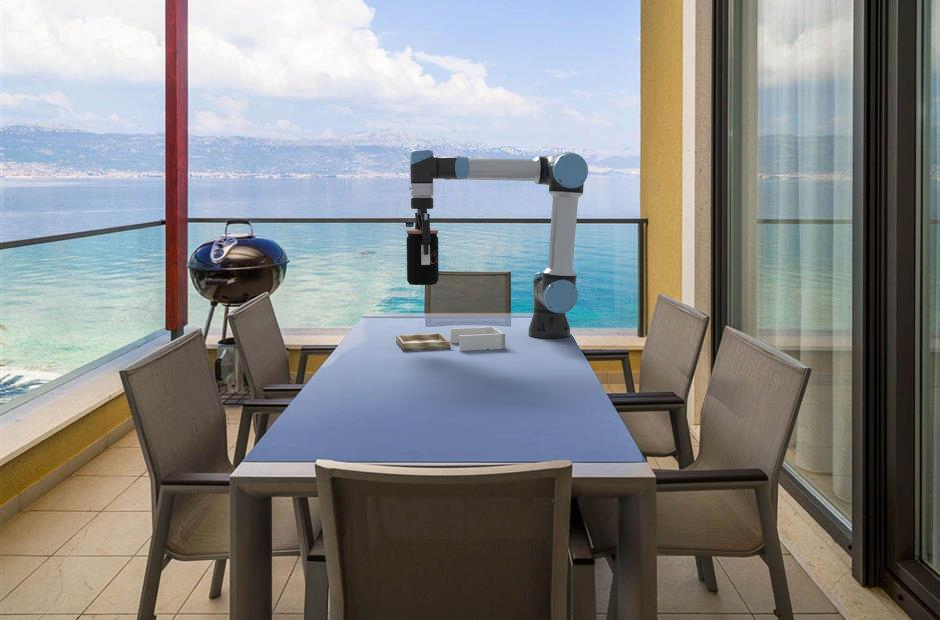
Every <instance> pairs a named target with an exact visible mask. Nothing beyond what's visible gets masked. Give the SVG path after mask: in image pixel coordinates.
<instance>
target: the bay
mask: <svg viewBox="0 0 940 620" xmlns="http://www.w3.org/2000/svg"><path fill="white" fill-rule="evenodd" d="M450 344H459V346H458V347H459V351H460V352H463V351H464V352H465V351H482V350H485V351H486V350H487V349H489V350H503V349H504V350H505V349H506V333H504V332H503V331H501V330H500V329H498V328H497V327H495V326H482V327H481V326H479V327H478V326H476V327H455V328H454V327H453V328H452V327H451V328H450Z"/></svg>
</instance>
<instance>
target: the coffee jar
mask: <svg viewBox="0 0 940 620" xmlns="http://www.w3.org/2000/svg"><path fill="white" fill-rule="evenodd" d="M438 233H439V230H438V229H431V228H430V234H431V243H430V265H421V245H420V242H422V238H421V234H422V231H421V230H415V229H407V230H406V234H407V236H406V281H407V283H408V284H409V285H412V286H431V285H432V286H433V285H437V283H438V282H439V276H440V275H439V270H440V267H439V237H438Z"/></svg>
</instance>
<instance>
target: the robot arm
mask: <svg viewBox="0 0 940 620" xmlns="http://www.w3.org/2000/svg"><path fill="white" fill-rule="evenodd" d="M409 169H410V186H409V187H408V190H409V191H410V196H411V198H410V208H411V210H417V211H416V212H414V219H415V221H414V230H421V231H422V234H421V238H422V242H420V245H421V265H430V243H431V234H430V229H431V223H430V222H431V221H430V220H431V219H430V216H431V214H430V213H428V210H432V209H434V198H433V196H434V180H446V181H451V180H463V181H464V180H465V181H466V180H467V181H468V180H470V181H471V180H473V181H507V182H508V181H509V182H510V181H515V182H516V181H517V182H533V183H535V184H536V185H546V186H548V193H549V195H550V196H551V197H552V203H551V215H550V216H551V218H550V229H549V242H548V243H549V244H548V257H547V266H546V268H545V269H544V270H543V271H541V272H540V271H539V272H538V271H537V272H535V273H534V274H533V280H532V284H533V297H532V298H533V302H532V303H533V308H532V309H533V315H532V317H531V320H530V323H529V327H528V336H529V337H533V338H538V339H539V338H540V339H563V338H567V337H570V336H571V327H570V323H569V320H568V318H567V315H566V313H567V312H570V311H571V310H572V309H573V308H575V306H576V305H577V303H578V299H579V292H578V287H577V277H578V276H577V273H576V272H575V270H574V269H573V267H574V255H575V245H576V244H575V242H576V241H575V240H576V229H577V228H576V227H577V218H578V204H579V198H580V197H582V196H583V195H584V187H585V186H584V185H585V182H586V180H587V178H588V175H589V166H588V164H587V161H586V160H585V158H584V157H582V155H580V154H578V153H575V152H571V151H569V152H567V151H566V152H562V153H558V154H552V155H547V156H536V157H535V158H534V159H531V158H529V159H528V158H492V157H491V158H489V157H488V158H486V157H485V158H484V157H481V158H480V157H468V156H463V155H462V156H461V155H447V156H446V155H444V156H443V155H442V156H441V155H439V156H438V155H435V154H434V151H433V150H431V149H414V150H412V151H411V152H410V167H409Z"/></svg>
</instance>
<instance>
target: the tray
mask: <svg viewBox="0 0 940 620" xmlns="http://www.w3.org/2000/svg"><path fill="white" fill-rule="evenodd" d="M395 343H396V344H397V345H398V347H399V349H401V350H402V352H411V351H413V352H414V351H430V350H431V351H432V350H449V349H450V350H451V340H449V338H448V337H446V336H445V335H444V334H443V333H441V332H440V333H423V334H422V333H421V334H419V333H418V334H397V335H395Z"/></svg>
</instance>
